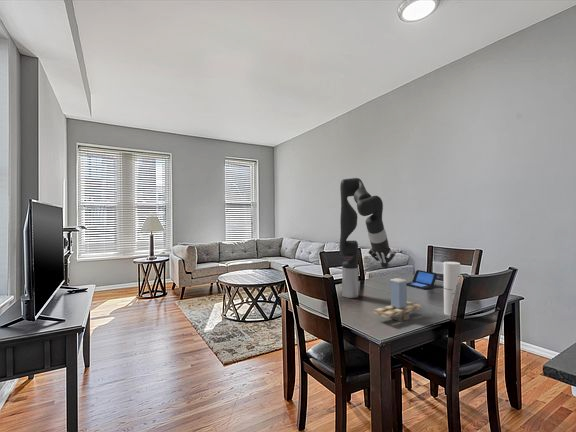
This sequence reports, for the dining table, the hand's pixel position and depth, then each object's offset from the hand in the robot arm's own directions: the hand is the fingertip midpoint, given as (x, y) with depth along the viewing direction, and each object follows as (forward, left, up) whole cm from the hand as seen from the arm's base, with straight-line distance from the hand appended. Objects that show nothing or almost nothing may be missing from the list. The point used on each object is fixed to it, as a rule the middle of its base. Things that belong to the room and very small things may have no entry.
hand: (385, 267), depth 142 cm
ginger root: (+5, +3, -24) cm, 25 cm away
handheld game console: (+25, +69, -25) cm, 77 cm away
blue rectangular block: (+6, +3, -21) cm, 22 cm away
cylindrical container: (+31, +14, -25) cm, 42 cm away
